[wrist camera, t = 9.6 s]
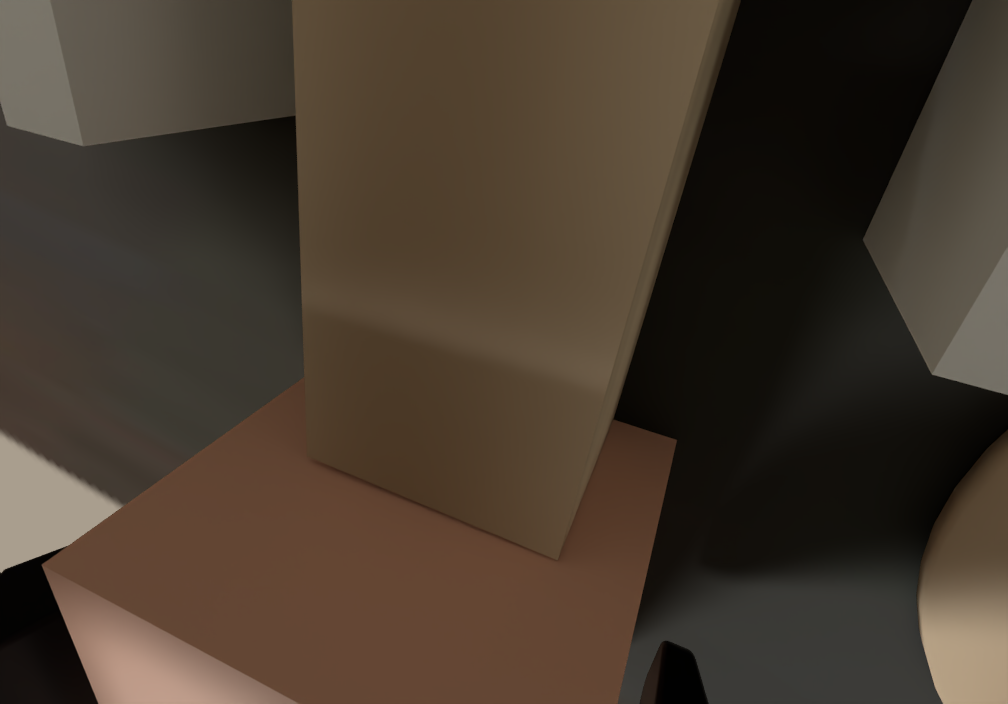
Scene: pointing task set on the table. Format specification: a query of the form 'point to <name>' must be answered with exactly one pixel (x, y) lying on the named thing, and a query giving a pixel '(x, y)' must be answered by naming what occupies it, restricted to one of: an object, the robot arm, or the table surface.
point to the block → (353, 584)
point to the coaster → (969, 586)
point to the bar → (487, 235)
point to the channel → (271, 94)
